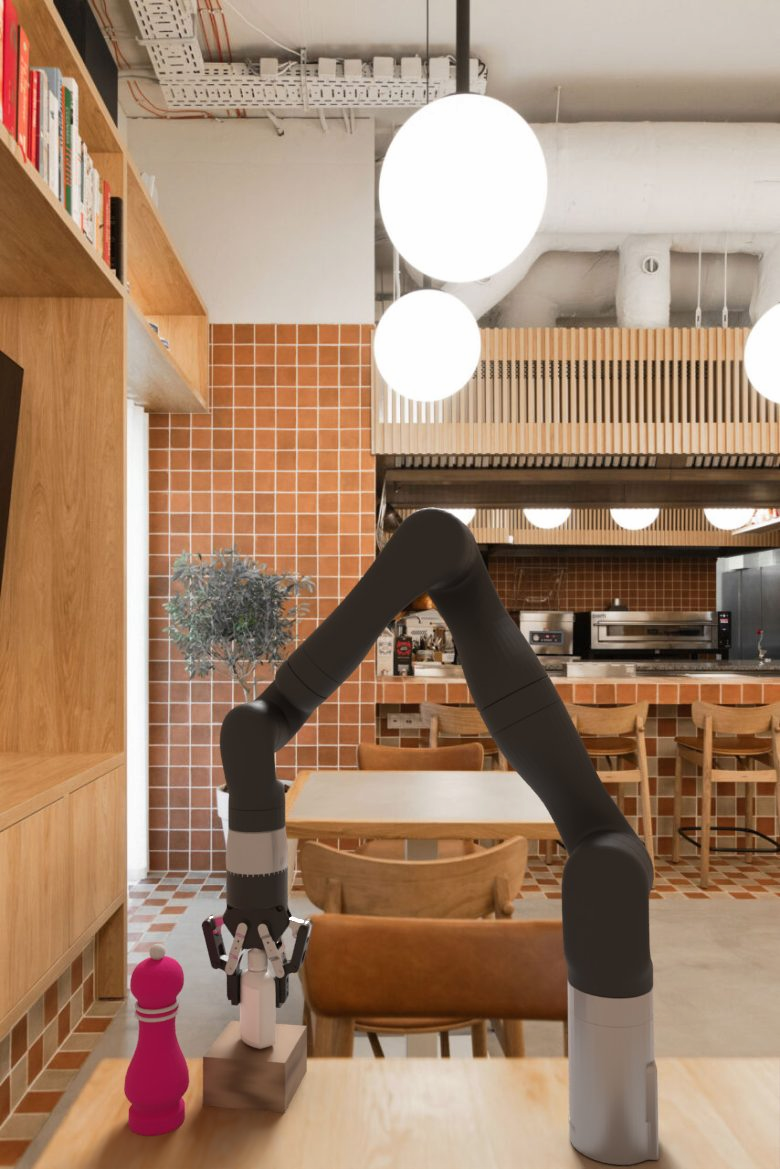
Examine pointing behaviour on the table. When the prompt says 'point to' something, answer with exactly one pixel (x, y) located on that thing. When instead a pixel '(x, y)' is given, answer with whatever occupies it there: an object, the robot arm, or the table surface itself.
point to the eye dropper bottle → (257, 1002)
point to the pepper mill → (156, 1048)
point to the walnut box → (255, 1070)
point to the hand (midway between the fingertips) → (257, 1003)
